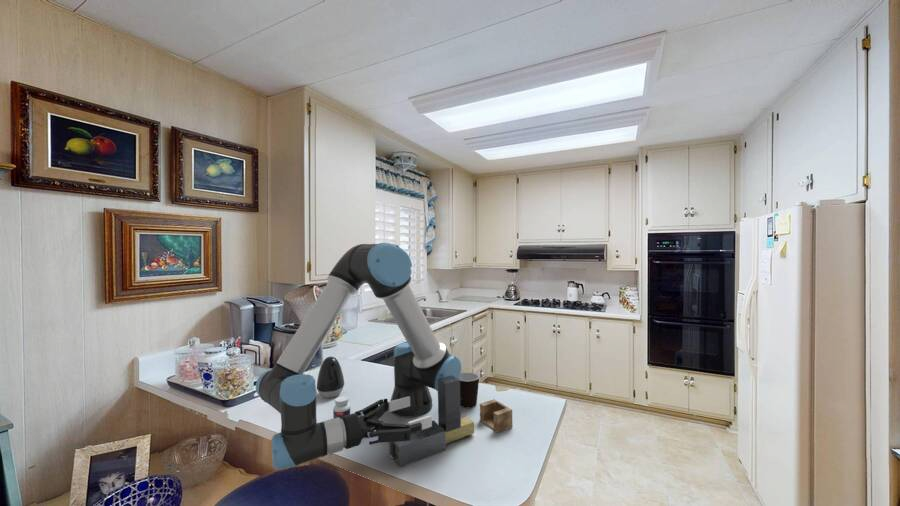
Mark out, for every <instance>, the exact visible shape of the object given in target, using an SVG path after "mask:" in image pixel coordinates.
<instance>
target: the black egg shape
mask: <svg viewBox="0 0 900 506" xmlns="http://www.w3.org/2000/svg"><path fill="white" fill-rule="evenodd" d="M344 386H345V379H344V373H343V370H342V367H341V364H340V362H339V360H338V359H337V358H336V357H334V356H328V357H325V359H324V360H322V363H321V365H320V367H319V371H318V375H317V380H316V391H317V393H318V394H319V395H320V397H322V398H325V399H334V398H335V397H336V398H337V396H338V397H339V395H340V394H341V393H342V391H343V389H344Z"/></svg>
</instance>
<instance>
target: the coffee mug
mask: <svg viewBox="0 0 900 506" xmlns="http://www.w3.org/2000/svg"><path fill="white" fill-rule="evenodd" d="M459 380H460V408H461V407H462V408H463V409H464V408H465V409H472V408H475V407H476V406H477V404H478V393H479V383H480V375H479V374H478V373H475V372H470V371H469V372H468V371H467V372H466V371H465V372H461V374H460V378H459Z"/></svg>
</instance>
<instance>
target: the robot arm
mask: <svg viewBox="0 0 900 506" xmlns="http://www.w3.org/2000/svg"><path fill="white" fill-rule="evenodd" d="M412 267H413V263H412V258H411V257H410V255H409V253H408V252H407V250H405V248H404V247H402V246H401V245H398V244H396V243H389V242H379V243H359V244H356V245H355V246H353V247H351V248H349V249H348V250H347V251H346V252H345V253H344V254H343V255H342V256H341V258H340V259H339V260H338V261H337V262H336V264H335V265H334V266H333V268H332V269H331V270H330V273H329V274H328V276H327V283H326V285H325V287H324V288H323V290H322V291H321V293H320V295H319V296H318V297H317V299H316V300H315V302H314V304H313V305H312V307H311V309H310V310H309V312H308V313H307V315H306V316H305V318H304V319H303V320H302V322H301V323H300V325H299V327H298V328H297V330H296V332H295V333H294V335H293V336H292V338H291V339H290V341H289V343H288V344H287V346H286V347H285V349H284V350H283V351H282V353H281V355H280V357H279V358H278V359H277V361H276V362H275V364H274V366H273V367H272V368H270V369H268V370H266V371H264V372H263V373H261V374H260V375H259V376H258V378H257V380H256V383H255V392H256V394H257V395H258V396H259V397H260V398H261V400H262V401H263V402H264V403H267V404H268V405H269V406H271V407H272V408H273V409H274V410H275V411H277V412H278V413H280V422H281V426H280V427H281V428H280V432H278V433H276V434H275V433H274V434H273V435H272V437H271V461H272V466H273V469H274V470H276V471H281V470H285V469H289V468H293V467H297V466H298V465H299V466H300V465H301V464H304V463H307V462H311V461H313V460H317V459H319V458H323V457H326V456H331V455H333V454H336V453H339V452H342V451H343V450H345V449H346V450H348V449H349V450H350V449H352V448H355V447H358V446H360V445H361V444H362V441H363V439H368V441H369V442H368V444H369V445H371V446H372V445H375V444H376V445H377V444H381V443H389V442H398V441H409V440H411V433H414V432H417V431H420V430H423V429H426V428H429V427H432V421H433V420H432V419H433V417H432V415H430V414H429V415H427V416H423V417H420V418H417V419H413V420H410V421H407V424H405V423H390V422H385V421H383V420H380V418H382V417H383V416H384V414H386V413H387V412H389V413H392V414H394V415H395V416H398V417H403V418H407V417H408V418H412V417H419V416H421V415H425V414H427V413H428V412H430V411H431V409H432V408H433V398H432V395H431V391H430V389H433V390H435V391H437V392H438V379H439V378H443V377H447V376H451V375H452V376H454V377H456V378H458V379H459V378H460V374H461V373H462V367H463V366H462V361H461V360H460V359H461V358H459V357H458V356H456V354H455V355H453V354H450V352H449V351H448V348H447V346H446V345H445V343H444V342H443V341H440V340H438V339H437V337H436V335H435V333H434V331H433V329H432V327H431V325H430V323H429V321H428V320H427V319H428V318H426V315H425V313H424V311H423V309H422V307H421V305H420V303H419V301H418V299H417V298H416V296H415V294H414V291H413V290H412V287H411V286H410V284H411V281H412V277H411V275H412ZM364 284H367V285H368V286H369V288H370V289H371V291H372V293H373V294H374V296H375V298H377V299H382V300H383V302H384V303H385V305H386V307H387V309H388V310H389V312H390V314H391V316H392V317H393V319H394V321H395V323H396V325H397V326H398V329H399V330H400V332H401V333H402V336H403V337H404V339H405V341H406V342H405V341H404V342H402V343H399V344H397V345H396V346H395V347H394V348H393V373H394V375H393V376H394V377H393V378H394V388H393V391H392V394H391V397H390V399H389V401H388V398H383V399H382V398H380V399H379V400H377V401H374V402H373V403H371V404H370V405H368V406H366V407H364V408H362V409H360V410H356V411H355V412H353V413H350V414H349V415H346V416H342V418H341V419H340V418H339V417H337V418H334V419H333V418H330V419H327V420H324V421H321V422H317V394H318V390H317V384H316V379H315V377H314V376H312V375H311V374H305V372H306V371H307V368H308V366H309V365H310V364H311V362H312V360H313V358H314V357H315V355H316V354H317V352H318V350H319V348H320V346H321V345H322V344H323V342H324V340H325V339H326V338H327V335H328V334H329V332H330V330H331V329H332V327H333V325H334V324H335V322H336V320H337V319H338V318H339V316H340V315H341V312H342V311H343V309H344V307H345V306H346V304H347V303H348V301H349V299H350V298H351V295H354V294H356V293H357V292H358V290H359V289H360V288H361V287H362V286H363V285H364ZM429 388H430V389H429Z"/></svg>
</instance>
